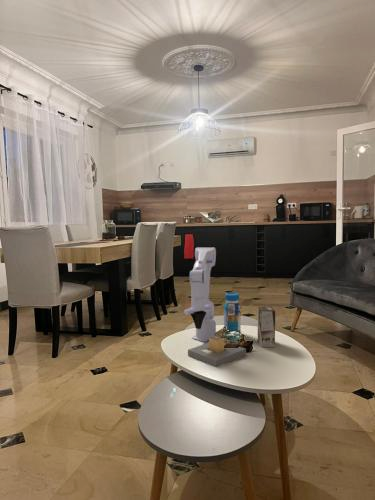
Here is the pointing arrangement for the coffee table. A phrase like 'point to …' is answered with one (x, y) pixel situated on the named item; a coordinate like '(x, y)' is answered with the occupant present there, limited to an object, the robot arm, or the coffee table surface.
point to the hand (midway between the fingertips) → (198, 328)
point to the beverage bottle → (232, 312)
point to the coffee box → (266, 326)
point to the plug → (216, 344)
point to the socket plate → (215, 354)
